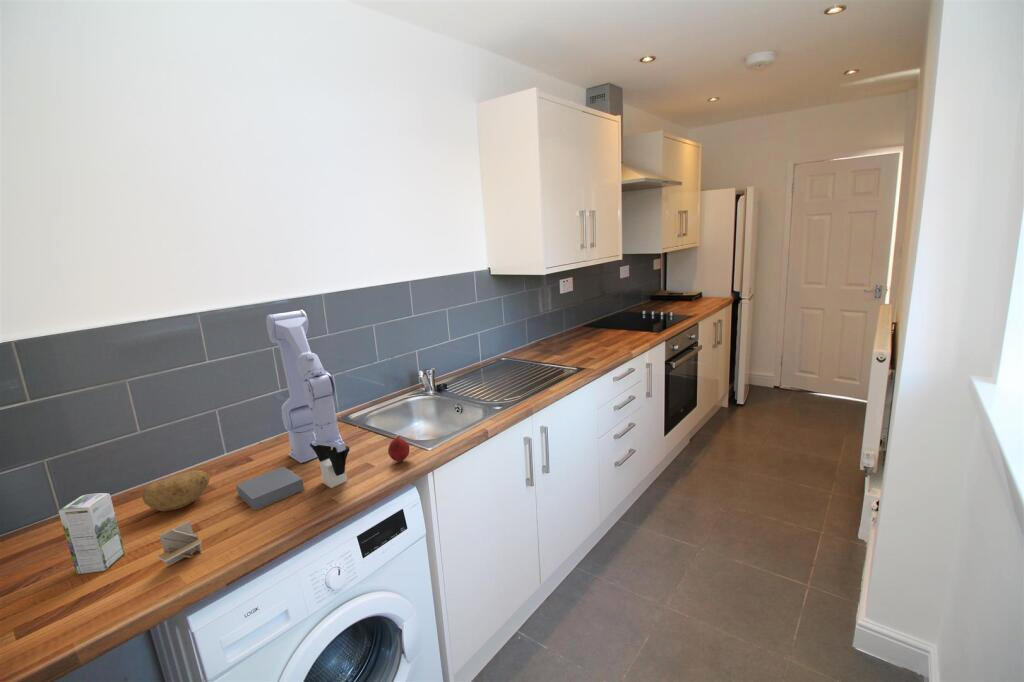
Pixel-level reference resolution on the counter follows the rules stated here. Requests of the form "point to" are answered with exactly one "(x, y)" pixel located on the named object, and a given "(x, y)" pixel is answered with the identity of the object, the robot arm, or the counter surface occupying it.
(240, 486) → the riser block
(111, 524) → the syrup box
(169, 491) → the potato
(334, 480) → the cream block
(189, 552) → the architectural model
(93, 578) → the counter surface
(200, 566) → the counter surface
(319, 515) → the counter surface
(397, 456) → the onion
